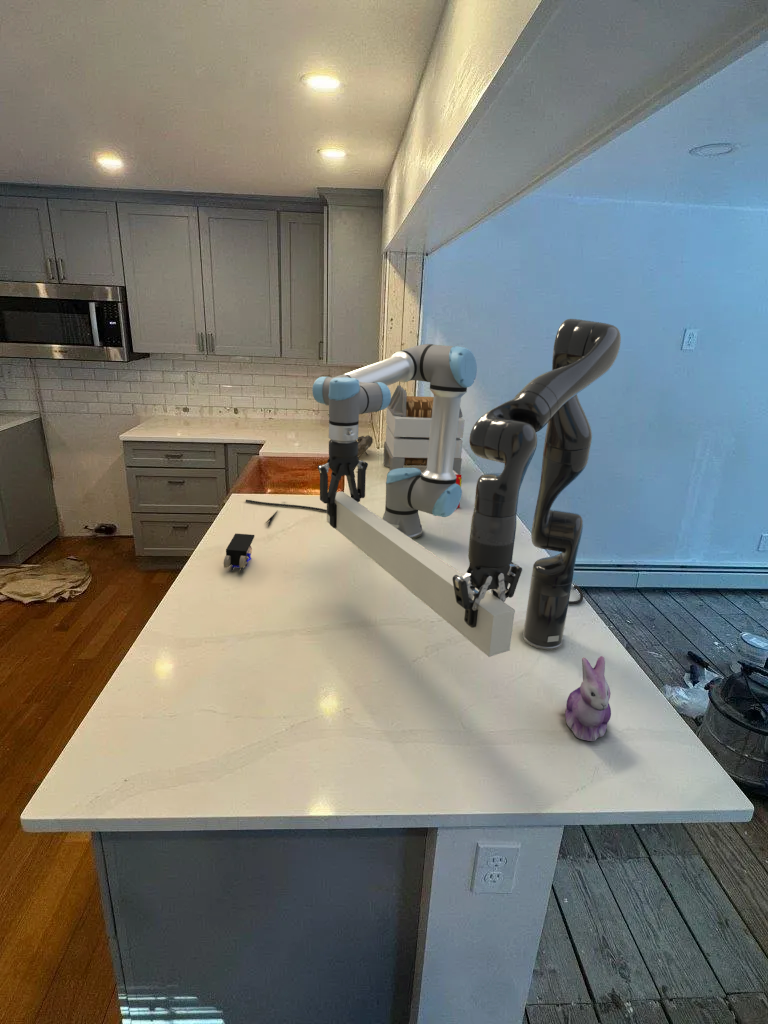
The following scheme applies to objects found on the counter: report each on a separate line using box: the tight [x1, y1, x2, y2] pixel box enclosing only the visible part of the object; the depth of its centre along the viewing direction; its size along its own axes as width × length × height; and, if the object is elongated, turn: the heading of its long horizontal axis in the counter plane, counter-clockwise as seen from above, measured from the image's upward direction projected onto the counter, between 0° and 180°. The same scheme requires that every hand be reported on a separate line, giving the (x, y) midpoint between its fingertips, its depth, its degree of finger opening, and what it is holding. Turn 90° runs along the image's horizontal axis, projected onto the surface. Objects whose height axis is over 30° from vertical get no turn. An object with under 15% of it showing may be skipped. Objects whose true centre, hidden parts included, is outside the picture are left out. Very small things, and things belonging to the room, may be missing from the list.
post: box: [326, 491, 516, 658], centre depth 127 cm, size 71×5×8 cm, turn 29°
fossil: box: [357, 435, 374, 457], centre depth 302 cm, size 22×10×15 cm
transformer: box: [383, 384, 465, 475], centre depth 268 cm, size 34×33×41 cm
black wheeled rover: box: [223, 533, 255, 573], centre depth 170 cm, size 7×8×15 cm
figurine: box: [564, 655, 612, 742], centre depth 107 cm, size 9×10×15 cm
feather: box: [265, 511, 278, 527], centre depth 212 cm, size 2×28×2 cm
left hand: (342, 524), depth 153 cm, fingers closed on post, 5 cm apart
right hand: (482, 621), depth 102 cm, fingers closed on post, 4 cm apart
